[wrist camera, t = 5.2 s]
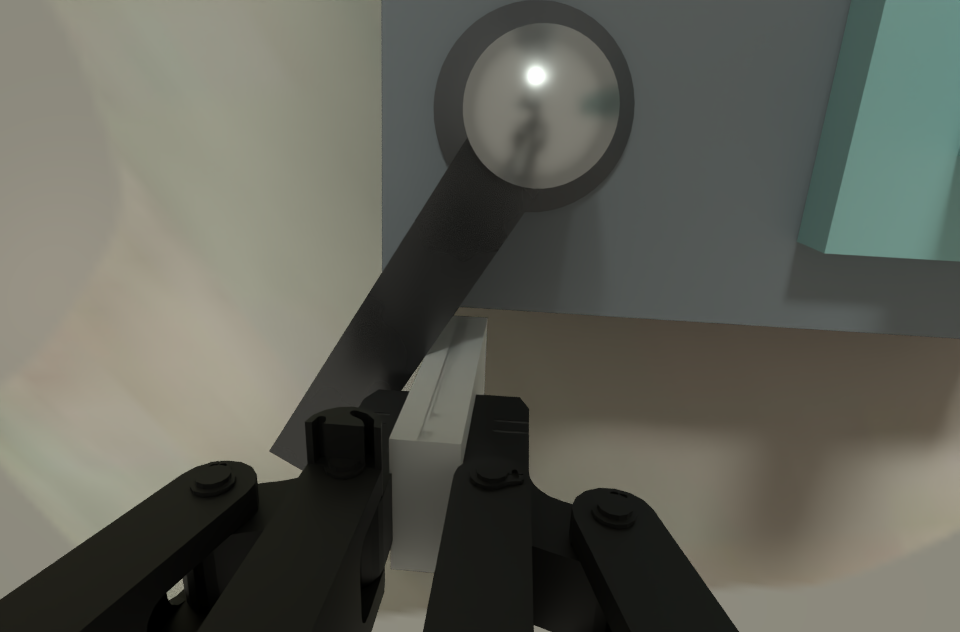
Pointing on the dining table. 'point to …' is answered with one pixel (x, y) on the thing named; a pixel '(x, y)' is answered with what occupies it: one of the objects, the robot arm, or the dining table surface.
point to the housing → (660, 168)
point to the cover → (891, 136)
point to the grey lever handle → (472, 208)
